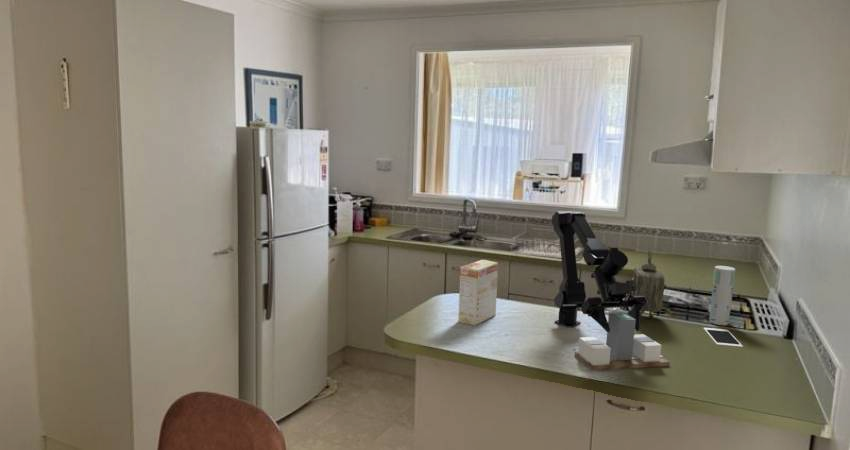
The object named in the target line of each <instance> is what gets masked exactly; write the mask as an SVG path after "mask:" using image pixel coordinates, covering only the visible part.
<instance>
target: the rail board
mask: <svg viewBox="0 0 850 450" xmlns="http://www.w3.org/2000/svg"><path fill="white" fill-rule="evenodd" d="M574 356H575V357H576V358H577V360H579V361H580V362H582V364H584V365H585V366H586V367H588V368H589V369H590V370H591V371H592V370H593V371H594V372H596V371H611V370H613V371H614V370H626V369H628V370H629V369H642V368H654V367H655V368H656V367H670V364H671V361H669V360H667V359H666V358H664V356H663V355H661V354H660V361H652V362H644V361H642V360H641V359H640V358H639V357H638V356H636V355H635V354H632V360H617V361H616V360H615V359H613V358H612V357H611V356H610V363H609V364H605V365H592V364H591V363H590V361H589V360H587V359H586V358H585V357H584V356H582V355H580V354H579V353H578V351H575V352H574Z"/></svg>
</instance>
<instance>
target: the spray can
mask: <svg viewBox="0 0 850 450" xmlns="http://www.w3.org/2000/svg"><path fill="white" fill-rule="evenodd" d="M735 277H736V268H735V267H733V266H728V265H727V266H726V265H715V266H714V271H713V281H712V289H711V290H712V292H711V300H710V308H709V309H710V310H709V317H708V319H709V320H708V321H709V323H711V324H714V325H719V326H727V325H729V322H730V315H731V307H732V301H733V291H734V283H735Z"/></svg>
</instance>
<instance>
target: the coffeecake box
mask: <svg viewBox="0 0 850 450" xmlns="http://www.w3.org/2000/svg"><path fill="white" fill-rule="evenodd" d="M459 268H460V269H459V292H458V293H459V298H458V320H457V321H458V323H463V324H467V325H470V326H477V325H478V324H481V323H483V322H485V321H487V320H488V319H490V318H493V317H494V316H496V314H497V313H496V312H497V293H498V291H497V290H498V275H499V274H498V272H499V271H498V270H499V262H497V261H491V260H488V259H480V260H478V261H474V262H472V263H468V264H465V265H462V266H459Z"/></svg>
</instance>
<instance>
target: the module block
mask: <svg viewBox="0 0 850 450" xmlns="http://www.w3.org/2000/svg"><path fill="white" fill-rule="evenodd" d="M607 322H608V324H609V328H610V332H609V333H607V332H606V343H605V344H606V345H607V346H609V347H610V348H611V351H610V356H611V357H612V358H613V359H615V360H616V361H617V360H632V354H633V343H634V335H635V331H636V330H635V322H636V319H634V318H632V317H630V316H629V315H628V314H627V313H625V312H617V313H615V312H613V313H608V318H607Z"/></svg>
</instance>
